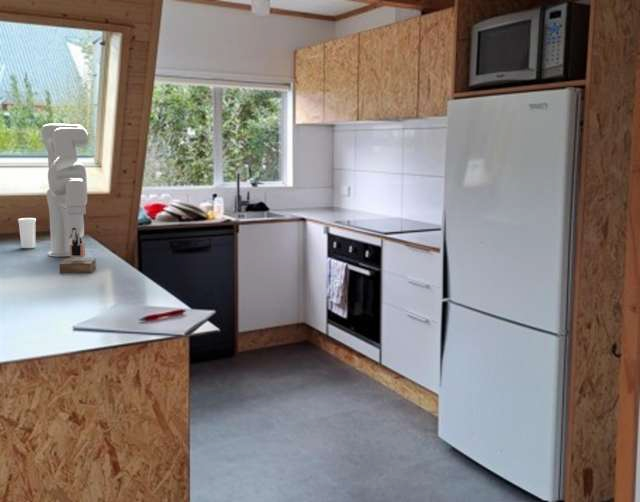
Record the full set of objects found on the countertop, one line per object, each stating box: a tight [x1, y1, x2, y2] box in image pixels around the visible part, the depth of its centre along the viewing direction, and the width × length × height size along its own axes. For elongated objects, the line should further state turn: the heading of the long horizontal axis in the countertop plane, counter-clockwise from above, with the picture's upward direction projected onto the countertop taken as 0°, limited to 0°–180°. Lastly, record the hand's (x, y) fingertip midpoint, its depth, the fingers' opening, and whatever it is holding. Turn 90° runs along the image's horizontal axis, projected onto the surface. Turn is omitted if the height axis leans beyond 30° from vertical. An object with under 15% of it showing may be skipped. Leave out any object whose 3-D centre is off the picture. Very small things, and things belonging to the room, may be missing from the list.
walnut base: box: [58, 257, 97, 274], centre depth 273 cm, size 12×12×4 cm
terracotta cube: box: [69, 242, 86, 258], centre depth 272 cm, size 5×5×5 cm
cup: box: [17, 217, 37, 249], centre depth 322 cm, size 8×8×14 cm
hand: (77, 253), depth 272 cm, fingers closed on terracotta cube, 4 cm apart
